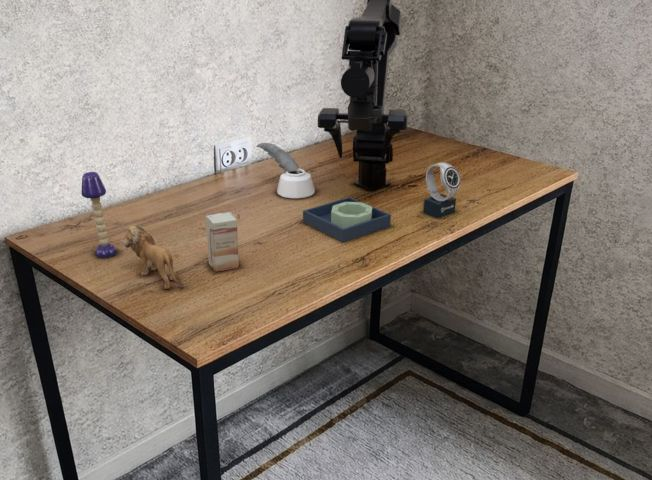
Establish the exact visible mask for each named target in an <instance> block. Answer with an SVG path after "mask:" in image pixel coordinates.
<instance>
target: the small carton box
mask: <svg viewBox="0 0 652 480" xmlns="http://www.w3.org/2000/svg"><path fill="white" fill-rule="evenodd" d="M205 221H206V239H207V240H206V241H207V258H208V264H209V266H210V267H211V268H212V270H213V271H214V272H222V271H228V270H234V269H238V268H239V267H240V266H239V265H240V264H239V263H240V261H239V237H238V235H239V233H238V219H237V217H236V216H235V215H234V214H233V213H232V212H231V211H226V212H219V213H214V214H207V215H205Z"/></svg>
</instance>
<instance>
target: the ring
mask: <svg viewBox="0 0 652 480" xmlns="http://www.w3.org/2000/svg"><path fill="white" fill-rule="evenodd" d="M364 203H365V202H363V203H362V201H361V202H343V203H340V204H337V205H333V207H332V211H331V223H333V224H335V225H337V226H339V227H341V228H343V229H344V228H347V227H350V226H353V225H356V224H359V223H362V222H365V221H369V220H372V207H373V206H372V205H370V204H367V203H365V204H364ZM366 204H367V205H366ZM369 205H370V206H369ZM371 206H372V207H371Z"/></svg>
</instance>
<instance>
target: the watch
mask: <svg viewBox="0 0 652 480" xmlns="http://www.w3.org/2000/svg"><path fill="white" fill-rule="evenodd" d="M437 167H439V172H440V182H441V185H442V187H443V188H444V189H445V191H446V194H444V193H439V189H438V187H437V183H436V179H435V178H436V177H435V176H434V172H435V169H436V168H437ZM424 178H425V185H426V188H427V191H428V194H429V195H430V197H428V198H424V200H423V212H422V213H423V214H425V215H428V216H430V217H433V218H436V219H440V218H443V217H445V216H448V215H451V214H453V213H455V212H456V202H457V198H455V196H456V195H457V192H458V191H459V188H460V186H461V182H462V181H461V180H462V178H461V174H460V172H459V170H458V169H457V168H455V167H454V166H453V165H451V164H450V163H447V162H445V161H442V162H438V163H435V164H432V165H430V166H429V167H428V168H427V170H426V171H425V177H424Z"/></svg>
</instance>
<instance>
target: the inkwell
mask: <svg viewBox="0 0 652 480" xmlns="http://www.w3.org/2000/svg"><path fill="white" fill-rule="evenodd" d="M256 148H258V149H259V148H260V149H262V150H263V151H264V152H267V153H266V154H267V155H268V156H269V157H271V158H274V162H276V163H277V164H278V166H279V168H281V169H283V171H284V172H282V173H281V174H280V176H279V180H278V184H277V188H276V193H277V195H278V196H280V197H282V198H286V199H297V200H298V199H305V198H309V197H311V196H313V195H314V194H315V192H316V188H315V185H314V181H313V178H312V175H311V174H310V173H309V172H307V171H305V170H304V169H302V168H299V164H298V163H297V162H296V160H295V159H294V158H293V157H292V156H291V154H289V153H288V152H286V151H285V150H284V149H282V148H281V147H279V146H277V145H276V144H274V143H270V142H261V143H258V144H257V145H256Z"/></svg>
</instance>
